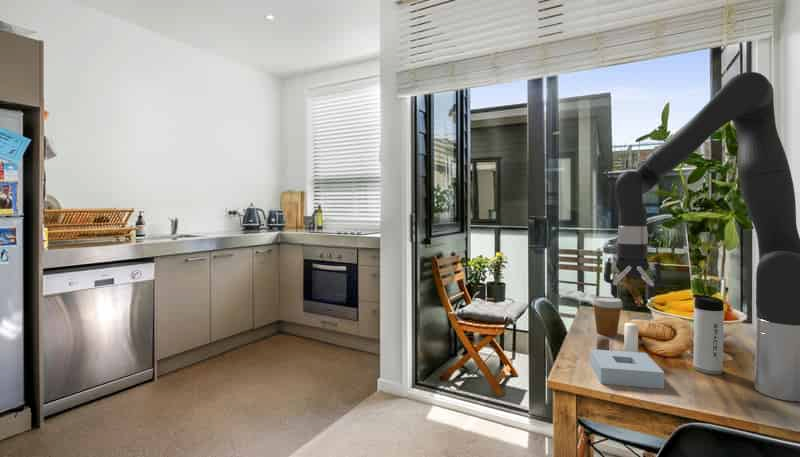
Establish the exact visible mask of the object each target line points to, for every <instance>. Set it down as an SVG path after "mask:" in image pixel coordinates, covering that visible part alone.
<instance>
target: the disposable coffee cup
mask: <svg viewBox="0 0 800 457" xmlns="http://www.w3.org/2000/svg"><path fill="white" fill-rule="evenodd" d="M591 302H592V305H593V312H594V313H593V314H594V318H595V319H594V320H595V326H596V327H595V328H596V333H597V334H599V335H602V336H605V337H606V336H608V337H612V336H617V335H618V330H619V323H620V317H621V311H622V307H623V302H622V299H620V298H618V297H617V298H614V297H613V296H595V297H593V299H592V301H591Z"/></svg>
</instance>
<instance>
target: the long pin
mask: <svg viewBox="0 0 800 457" xmlns="http://www.w3.org/2000/svg"><path fill="white" fill-rule="evenodd" d="M623 330H624V334H623V335H624V343H623V345H624V346H623V348H624V350H623V351H626V352H639V324H637V323H634V322H626V323H624V329H623Z"/></svg>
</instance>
